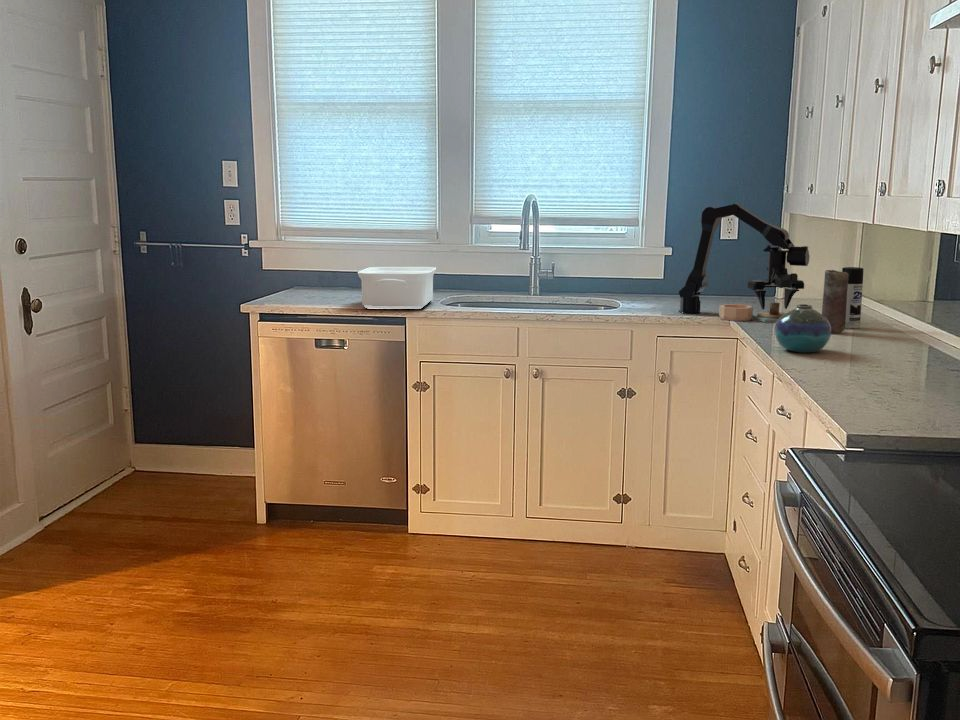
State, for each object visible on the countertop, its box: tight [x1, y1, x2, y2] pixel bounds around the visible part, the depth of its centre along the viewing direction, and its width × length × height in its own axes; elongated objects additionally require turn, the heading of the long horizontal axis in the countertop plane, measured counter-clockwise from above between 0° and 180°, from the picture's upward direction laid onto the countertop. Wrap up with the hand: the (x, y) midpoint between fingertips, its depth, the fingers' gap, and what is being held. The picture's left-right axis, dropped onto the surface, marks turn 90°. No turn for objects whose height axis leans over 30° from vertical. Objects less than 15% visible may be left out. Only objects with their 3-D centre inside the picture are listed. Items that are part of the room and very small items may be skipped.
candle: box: [821, 269, 849, 334], centre depth 285 cm, size 8×7×20 cm
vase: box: [774, 303, 832, 354], centre depth 255 cm, size 15×15×13 cm
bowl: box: [718, 303, 754, 322], centre depth 317 cm, size 11×11×4 cm
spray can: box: [841, 266, 865, 330], centre depth 294 cm, size 7×7×20 cm
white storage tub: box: [357, 266, 437, 307], centre depth 355 cm, size 34×29×15 cm
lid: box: [756, 301, 787, 319], centre depth 315 cm, size 12×12×5 cm
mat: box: [751, 313, 778, 323], centre depth 316 cm, size 13×13×1 cm
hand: (774, 308), depth 315 cm, fingers open, 8 cm apart
